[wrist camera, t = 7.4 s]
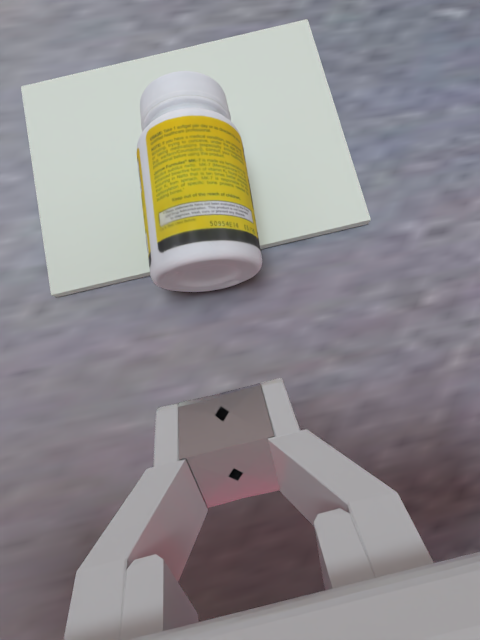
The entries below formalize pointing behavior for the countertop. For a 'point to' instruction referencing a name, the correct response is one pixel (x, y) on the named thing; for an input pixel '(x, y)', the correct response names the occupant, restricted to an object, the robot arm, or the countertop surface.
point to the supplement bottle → (194, 187)
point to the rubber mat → (125, 129)
